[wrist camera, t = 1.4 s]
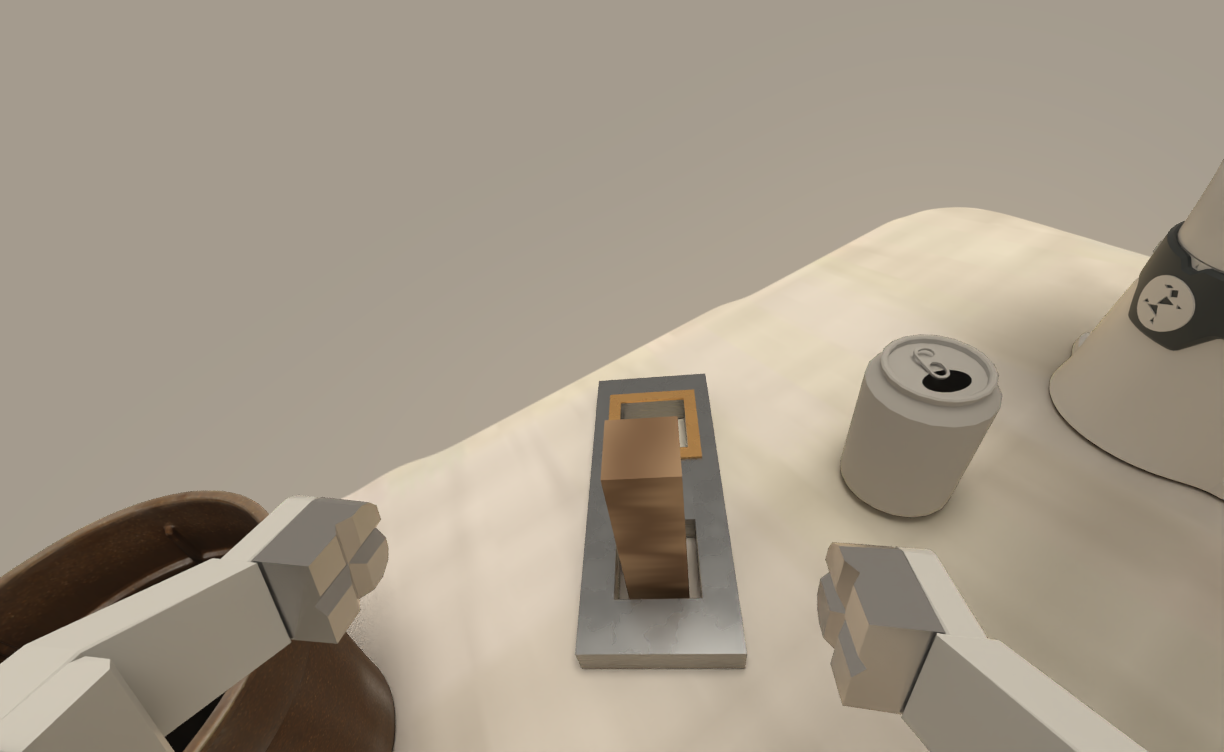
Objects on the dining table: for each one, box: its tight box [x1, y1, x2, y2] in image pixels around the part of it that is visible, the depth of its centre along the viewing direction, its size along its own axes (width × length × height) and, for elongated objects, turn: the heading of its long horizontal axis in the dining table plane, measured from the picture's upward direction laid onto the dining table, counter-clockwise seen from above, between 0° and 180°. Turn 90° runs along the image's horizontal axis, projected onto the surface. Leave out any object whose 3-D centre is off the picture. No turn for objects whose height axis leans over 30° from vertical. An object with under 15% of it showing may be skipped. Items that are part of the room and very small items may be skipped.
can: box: [840, 334, 1002, 517], centre depth 34 cm, size 8×8×12 cm
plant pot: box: [0, 491, 395, 752], centre depth 24 cm, size 16×16×16 cm
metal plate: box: [575, 374, 747, 669], centre depth 39 cm, size 10×24×3 cm, turn 178°
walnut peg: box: [601, 416, 690, 600], centre depth 30 cm, size 4×4×14 cm
